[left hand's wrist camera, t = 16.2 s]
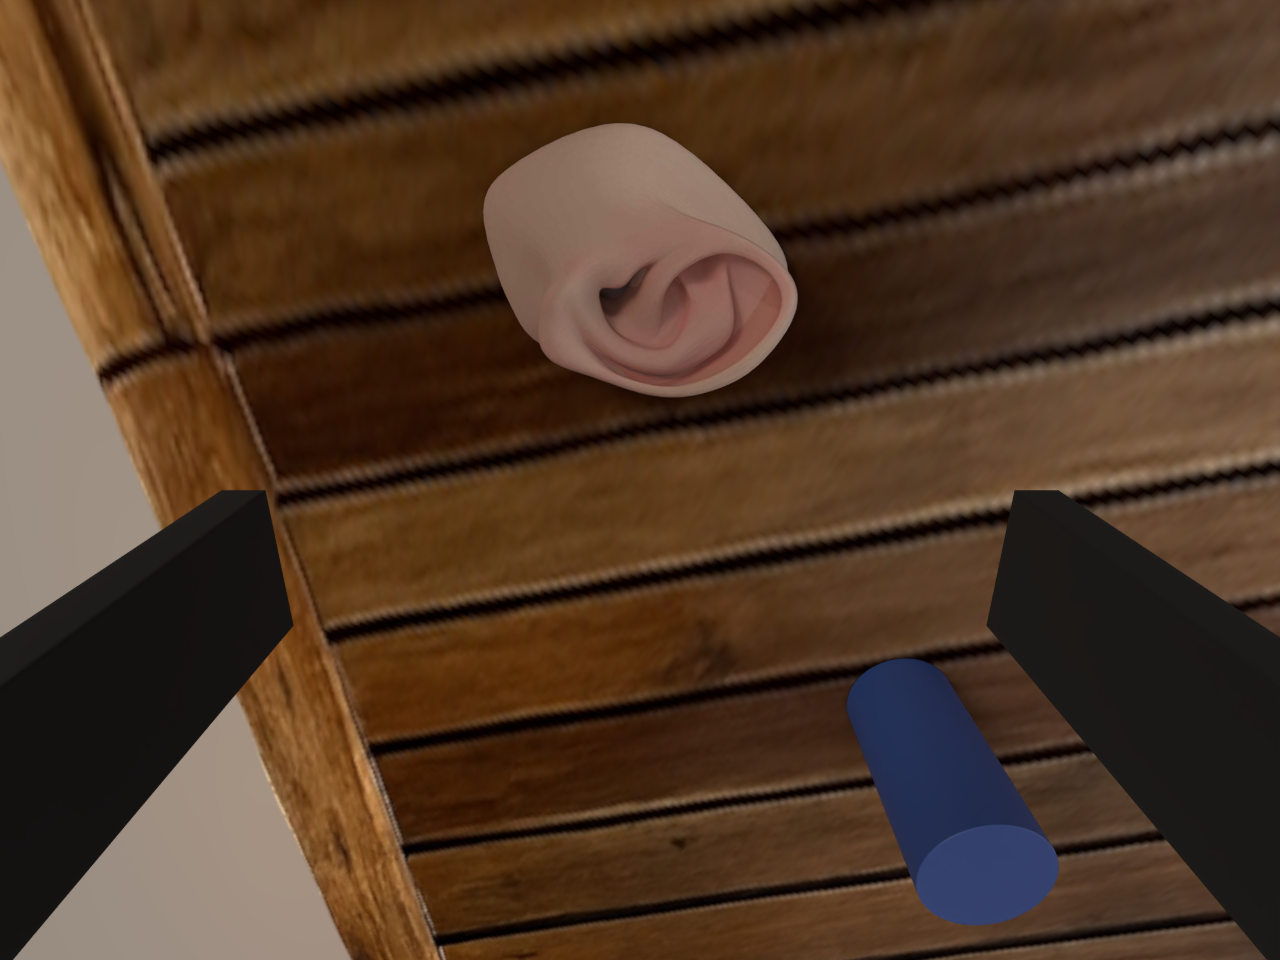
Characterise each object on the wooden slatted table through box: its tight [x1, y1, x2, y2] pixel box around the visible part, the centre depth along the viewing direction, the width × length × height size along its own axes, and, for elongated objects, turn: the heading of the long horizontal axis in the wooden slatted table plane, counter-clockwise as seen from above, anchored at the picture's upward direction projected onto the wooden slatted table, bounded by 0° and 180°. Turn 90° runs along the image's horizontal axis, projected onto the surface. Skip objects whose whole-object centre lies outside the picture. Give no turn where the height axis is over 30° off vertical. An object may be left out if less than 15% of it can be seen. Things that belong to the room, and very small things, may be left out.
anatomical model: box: [483, 123, 797, 397], centre depth 30 cm, size 13×4×12 cm
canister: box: [847, 659, 1059, 925], centre depth 36 cm, size 6×6×12 cm
